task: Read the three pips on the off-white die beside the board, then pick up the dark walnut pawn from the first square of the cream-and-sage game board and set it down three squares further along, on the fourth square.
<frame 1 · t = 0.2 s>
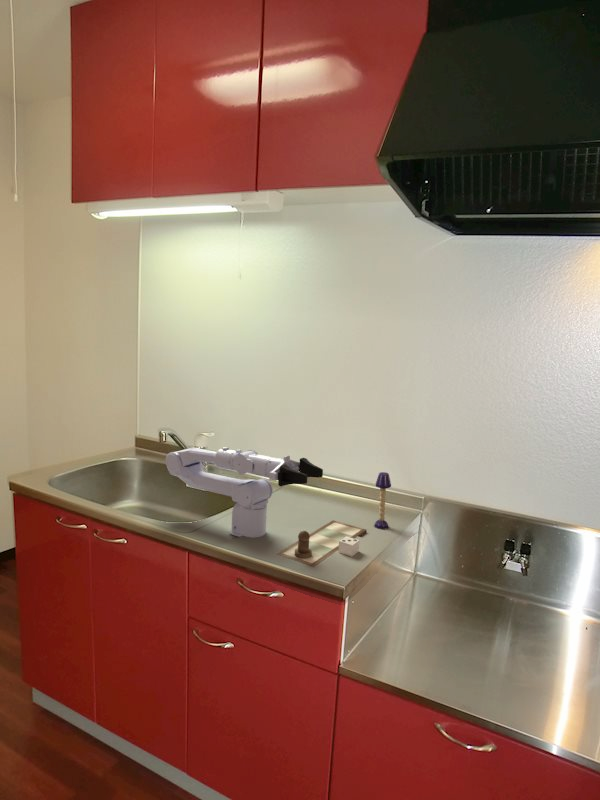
hand: (314, 476, 135), 21 cm above the counter, tool horizontal, fingers open, 7 cm apart
die: (348, 554, 139), on the counter
pawn: (303, 554, 135), point 1 cm above the counter, touching game board
game board: (324, 543, 145), on the counter
toy lamp: (380, 526, 159), on the counter
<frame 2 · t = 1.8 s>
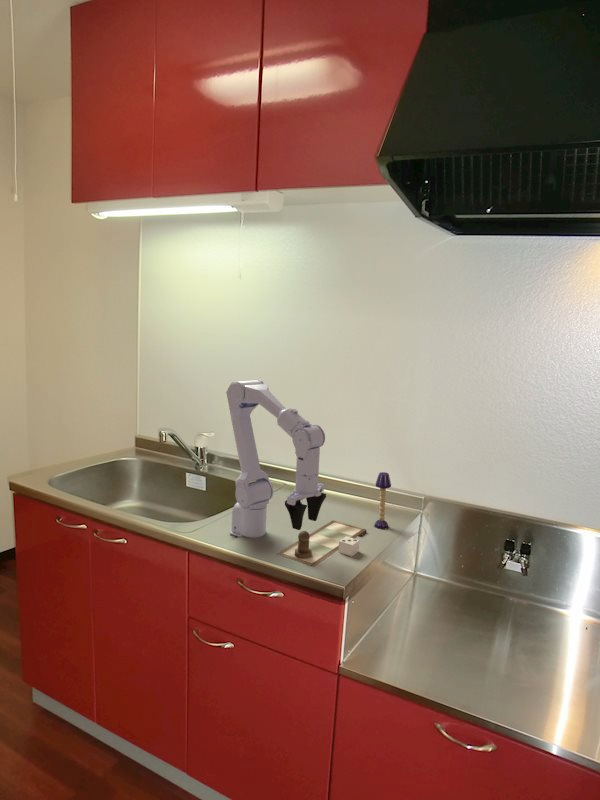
hand: (304, 524, 134), 9 cm above the counter, tool pointing down, fingers open, 7 cm apart
nothing on the counter moved.
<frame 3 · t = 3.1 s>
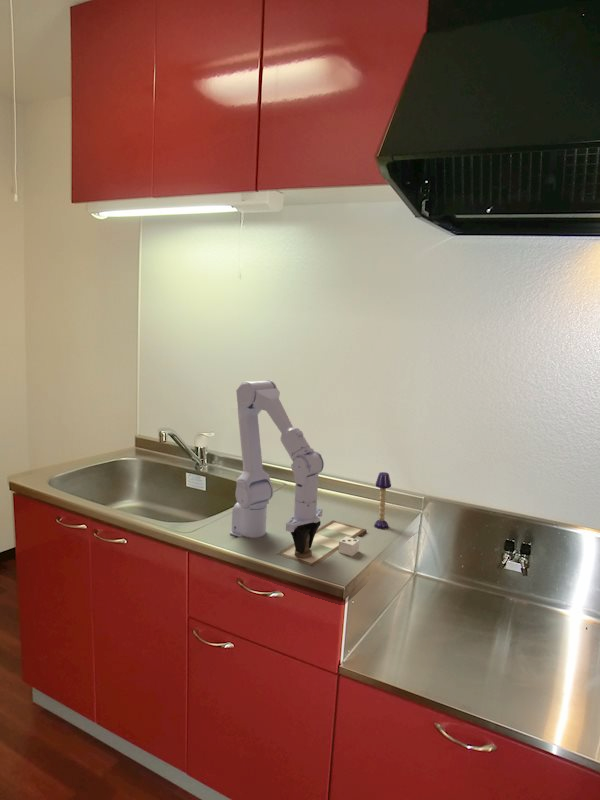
hand: (303, 549, 135), 2 cm above the counter, tool pointing down, fingers closed on pawn, 3 cm apart
pawn: (303, 554, 135), point 1 cm above the counter, touching game board, gripper
everything else where it was.
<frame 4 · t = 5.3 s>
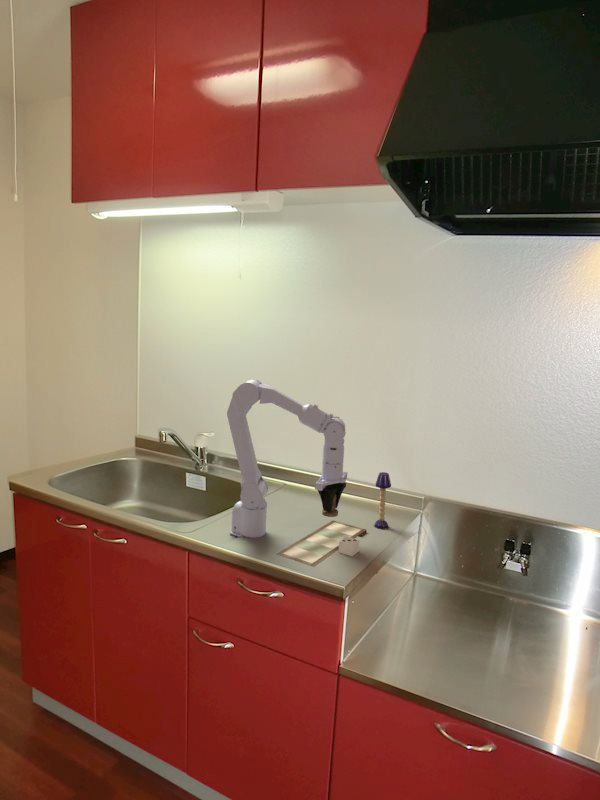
hand: (330, 509, 145), 9 cm above the counter, tool pointing down, fingers closed on pawn, 3 cm apart
pawn: (330, 514, 145), point 8 cm above the counter, touching gripper
everything else where it was.
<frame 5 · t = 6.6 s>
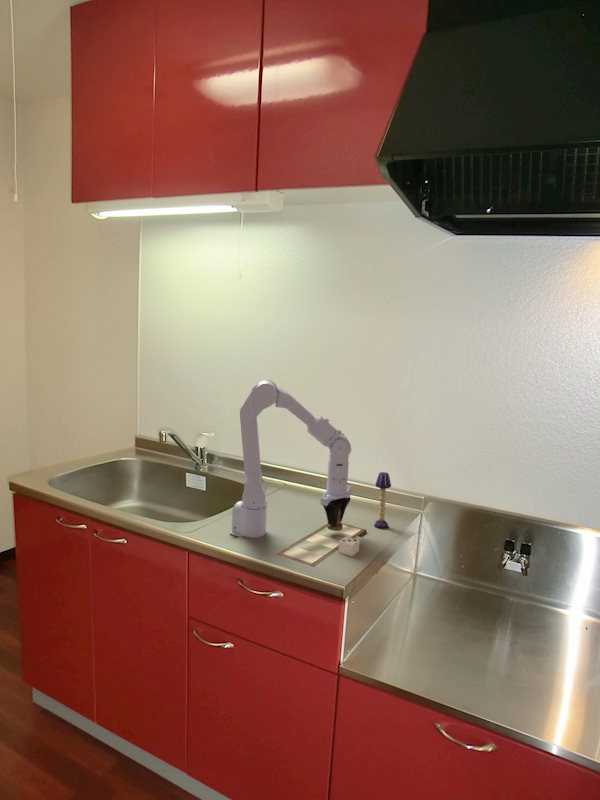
hand: (334, 523, 148), 4 cm above the counter, tool pointing down, fingers closed on pawn, 3 cm apart
pawn: (334, 527, 149), point 3 cm above the counter, touching gripper
everything else where it was.
when the fingers open (3 cm above the counter, at t = 7.5 s): pawn drops 1 cm, resting on game board.
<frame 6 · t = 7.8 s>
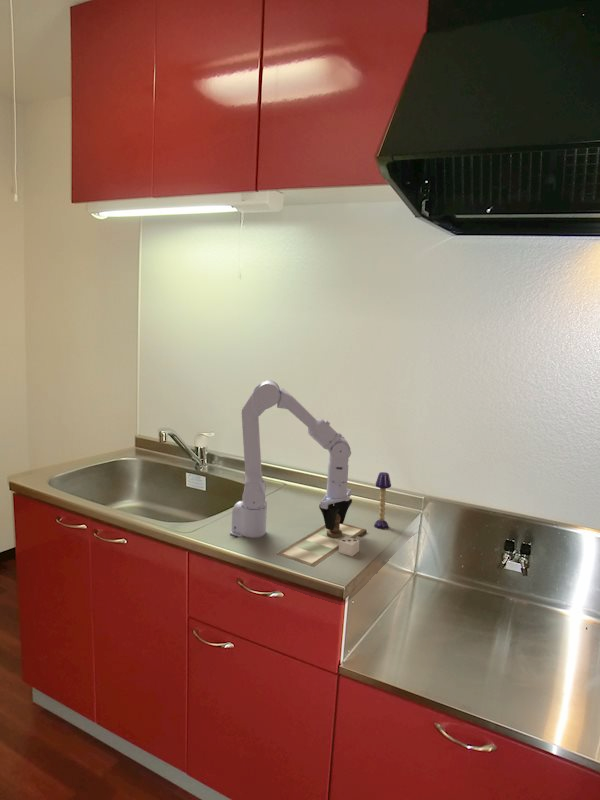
hand: (334, 526, 149), 3 cm above the counter, tool pointing down, fingers open, 5 cm apart
pawn: (334, 534, 149), point 1 cm above the counter, touching game board
everything else where it was.
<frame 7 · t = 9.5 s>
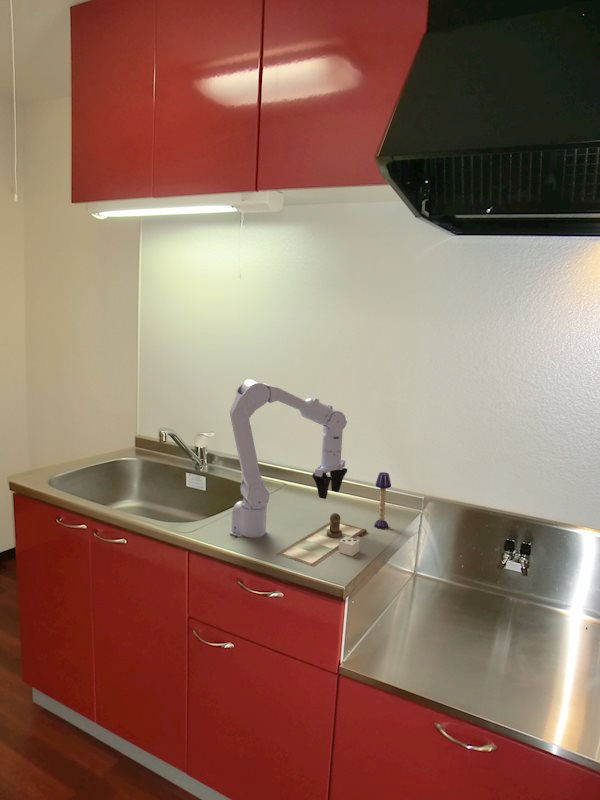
hand: (329, 494, 154), 10 cm above the counter, tool pointing down, fingers open, 7 cm apart
nothing on the counter moved.
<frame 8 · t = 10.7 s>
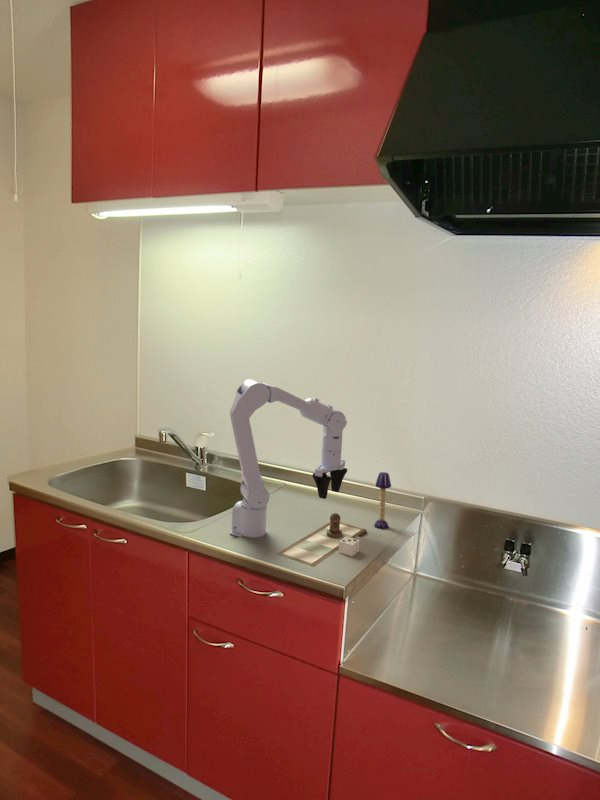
hand: (329, 494, 154), 10 cm above the counter, tool pointing down, fingers open, 7 cm apart
nothing on the counter moved.
at the end: pawn 0.1 cm from the target spot on the game board, point 0.8 cm above the game board's base; pawn tilted 0°; the gripper is holding nothing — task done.
